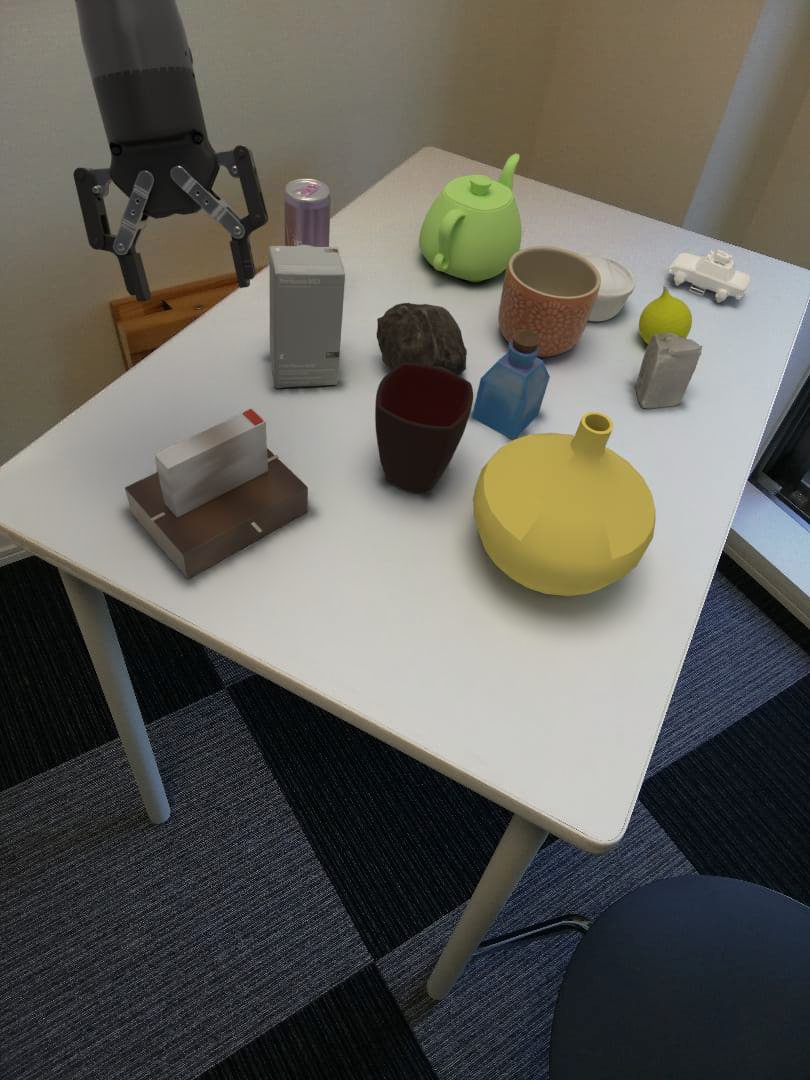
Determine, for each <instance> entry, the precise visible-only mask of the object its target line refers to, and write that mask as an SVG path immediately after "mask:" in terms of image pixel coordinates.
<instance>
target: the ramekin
mask: <svg viewBox="0 0 810 1080" xmlns="http://www.w3.org/2000/svg"><path fill="white" fill-rule="evenodd" d="M577 254H578V255H580V256H582V257H584V258H585V259H587V260H588V261H589V262H591V263H592V264H593V265H594V266H595V267H596V269H597V270H598V272H599V274H600V277H601V284H600V289H599V292H598V295H597V298H596V300H595V303H594V306H593V308H592V311H591V313H590V315H589V318H588V320H587V322H594V323H595V322H604V321H605V322H606V321H608V320H610V319H612V318H614V317H615V316H617V315H618V314H619V312H620V311H621V309H622V308H623V306H624V305H625V303H626V302H627V299H628V298H629V297H630V296H631V295H632V294H633V292H634V290H635V287H636V279H635V276H634V275H633V273H632V271H630V269H629V268H628V267H626V266H625V265H624V264H623V263H621V262H619V261H618V260H615V259H614V258H611V257H609V256H605V255H603V254H597V253H591V252H582V253H581V252H580V253H577Z"/></svg>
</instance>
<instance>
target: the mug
mask: <svg viewBox="0 0 810 1080" xmlns="http://www.w3.org/2000/svg"><path fill="white" fill-rule="evenodd" d="M473 402H474V389H473V385H472V383H471V382H470V381H469V380H467V379H466V378H464V377H462V376H460V375H459V376H458V375H456V374H454V373H453V372H451V371H450V370H448V369H446V368H444V367H437V366H430V365H425V364H418V363H401V364H399V365H398V366H396V367H395V368H393V369H390V370H389V371H388V372H387V373H386V374H385V375H384V376H383V378H382V379H381V380H380V382H379V385H378V387H377V390H376V394H375V403H374V404H375V406H374V407H375V409H374V423H375V435H376V442H377V449H378V455H379V456H378V457H379V460H380V465H381V468H382V471H383V474H384V477H385V479H386V482H387V483H389V484H391V485H392V486H394V487H396V488H398V489H399V490H403V491H404V492H405V491H406V492H409V493H414V494H427V493H429V492H430V491H432V489H434V488H435V486H436V485H437V484H438V482H439V480H441V478H442V476H443V475H444V473H445V471H446V470H447V468H448V466H449V465H450V463H451V461H452V459H453V456H454V455H455V452H456V450H457V449H458V446H459V444H460V443H461V440H462V437H463V435H464V433H465V430H466V428H467V425H468V421H469V420H470V419H469V418H470V416H471V415H470V414H471V412H472V407H473Z"/></svg>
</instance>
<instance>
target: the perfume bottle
mask: <svg viewBox="0 0 810 1080" xmlns="http://www.w3.org/2000/svg"><path fill="white" fill-rule="evenodd" d="M539 342H540V338H539V336H538V335H537V334H536V333H535V332H533V331H530V330H526V329H521V330H517V331H515V332H514V333H513V339H512V340H511V341H510V343H509V342H508V348H507V352H505V354H504V355H503V356H502V357H501V358H499V359H498V360H497V361H496V362H495V363H494V364H493V365H492V366H491V367H490V368H489V369H488V370H487V371H486V372H485V373H484V374H483V376H481V377H480V379H479V380H480V381H479V384H478V389H477V393H476V398H475V402H474V406H473V411H472V415H471V418H473V419H474V420H476V421H478V422H480V423H481V424H483V425H485V426H487V427H489V428H491V429H492V430H494V431H496V432H497V433H500V434H501V435H503V436H505V437H507V438H509V439H510V440H511V441H513V440H515V439H517V437H519V436H520V434H522V433H523V431H525V429H526V428H527V427H529V425H530V424H531V423H532V422H533V421H534V420H535V419H536V418H537V417H538V416H539V413H540V410H541V407H542V403H543V400H544V397H545V394H546V392H547V388H548V385H549V383H550V382H549V381H550V378H551V375H550V374H549V372H548V369H547V367H546V365H545V362H544V360H543V359H540V358H539V357H538V356H537V354H538V349H539V347H538V344H539Z"/></svg>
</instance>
